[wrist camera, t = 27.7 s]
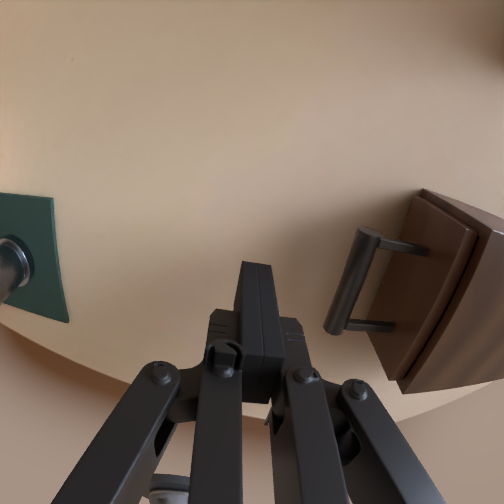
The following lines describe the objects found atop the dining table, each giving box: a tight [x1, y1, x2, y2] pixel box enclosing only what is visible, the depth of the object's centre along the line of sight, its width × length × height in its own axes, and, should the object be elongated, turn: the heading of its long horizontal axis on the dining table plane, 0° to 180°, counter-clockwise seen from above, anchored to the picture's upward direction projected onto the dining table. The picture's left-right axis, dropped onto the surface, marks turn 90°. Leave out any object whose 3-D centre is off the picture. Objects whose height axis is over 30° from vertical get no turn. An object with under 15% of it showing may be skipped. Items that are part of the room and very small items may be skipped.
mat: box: [0, 193, 69, 323], centre depth 21 cm, size 12×10×1 cm
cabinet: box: [396, 188, 504, 394], centre depth 19 cm, size 14×13×8 cm
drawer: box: [323, 195, 479, 381], centre depth 19 cm, size 18×11×6 cm, turn 80°
